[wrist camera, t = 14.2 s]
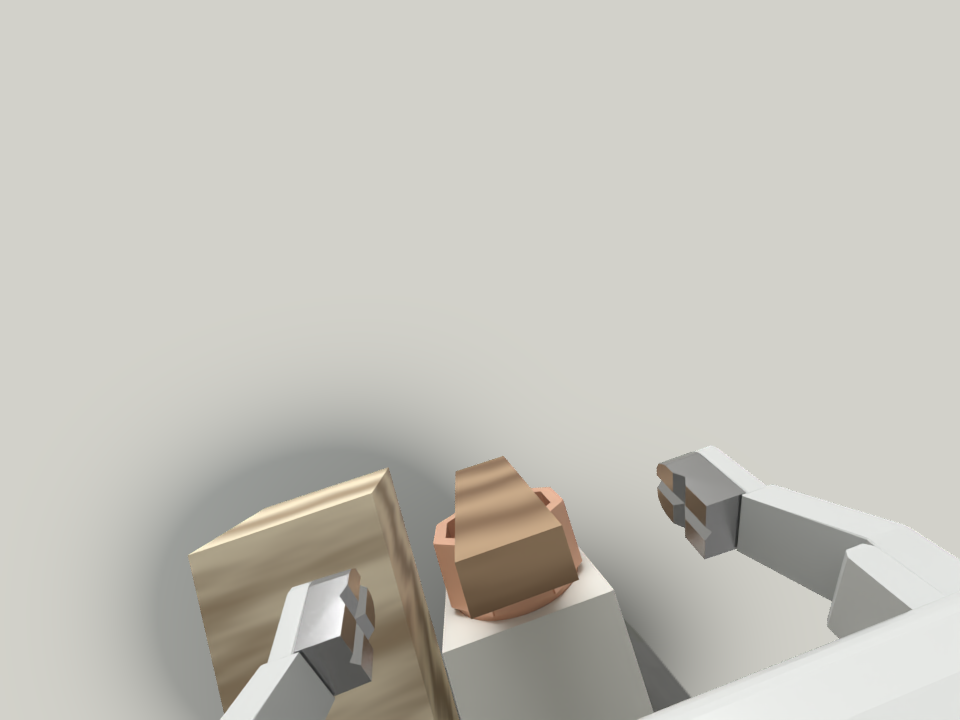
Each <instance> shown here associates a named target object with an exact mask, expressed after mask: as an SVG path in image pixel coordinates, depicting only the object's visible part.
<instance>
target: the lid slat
mask: <svg viewBox="0 0 960 720" xmlns="http://www.w3.org/2000/svg"><path fill="white" fill-rule="evenodd" d="M455 487H456V488H455V566H456V569H457V573H458V576H459V579H460V583H461V586H462V590H463V593H464V597H465V600H466V604H467V607H468V611H469V614H470V618H471V619H473V618H476V617H479V616H482V615H484V614H487V613H490V612H493V611H495V610H498V609H501V608H504V607H506V606H509V605H512V604H514V603H517V602H520V601H523V600H525V599H528V598H531V597H534V596H536V595H539V594H542V593H545V592H547V591H550V590H553V589H556V588H558V587H561V586H564V585H566V584H569V583H572V582H575V581H577V580H579V578H578V574H577V571H576V568H575V565H574V562H573V559H572V555H571V552H570V549H569V546H568V543H567V539H566V536H565V533H564V530H563V527H562V525H561V523H560V522H559V521H558V520H557V519H556V517H555V516H554V515H553V514H552V513H551V512H550V510H549V509H548V508H547V507H546V506H545V504H544V503H543V502H542V501H541V500H540V499H539V497H538V496H537V495H536V494H535V493H534V492H533V490H532V489H531V488H530V487H529V486H528V484H527V483H526V482H525V481H524V480H523V479H522V477H521V476H520V475H519V474H518V473H517V471H516V470H515V469H514V468H513V467H512V466H511V464H510V463H509V462H508V461H507V460H506V458H505V457H504V456H502V457H499V458H496V459H492V460H489V461H487V462H484V463H481V464H477V465H474V466H471V467H468V468H465V469H462V470H459V471H456V482H455Z"/></svg>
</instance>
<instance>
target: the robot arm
mask: <svg viewBox="0 0 960 720" xmlns="http://www.w3.org/2000/svg"><path fill="white" fill-rule="evenodd" d="M657 476H658V477H659V478H660V479H661V480H662V481H661V483H660V485H659V486H658V488H657V489H658V497H659V500H660V503H661V506H662V508H663V509H664V511H665V513H666V514H667V516H668V517H669V518H670V519H671V521H672V522H673V523H675V524H677V525H679V526H682V527H684V528H685V536H686V538H687V539H688V541H690V543H691V544H692V545H693V546H694V547H695V549H696V550H697V551H698V552H699V553H700V555H701V556H702V557H703V558H704V559H707V558H710V557H713V556H716V555H719V554H722V553H725V552H728V551H731V550H733V549H737V551H739V552H741V553H742V554H744V555H746V556H748V557H750V558H752V559H754V560H756V561H757V562H759V563H761V564H763V565H765V566H767V567H769V568H771V569H773V570H774V571H776V572H778V573H780V574H782V575H784V576H786V577H787V578H789V579H791V580H793V581H795V582H797V583H799V584H801V585H802V586H804V587H806V588H808V589H810V590H812V591H814V592H816V593H817V594H819V595H821V596H823V597H825V598H827V599H829V600H831V601H832V603H831V607H830V611H829V615H828V618H827V626H828V628H829V629H830V630H831V631H832V632H833V633H834V634H835V635H836V636H837V637H838V638H839V639H838V640H835V641H833V642H831V643H828V644H825V645H823V646H820V647H818V648H816V649H813V650H810V651H808V652H805V653H803V654H800V655H798V656H795V657H793V658H790V659H788V660H785V661H783V662H780V663H778V664H775V665H773V666H770V667H768V668H765V669H763V670H760V671H758V672H755V673H753V674H750V675H748V676H745V677H743V678H740V679H737V680H735V681H732V682H730V683H727V684H725V685H722V686H720V687H718V688H715V689H712V690H710V691H707V692H705V693H702V694H700V695H697V696H695V697H692V698H690V699H687V700H685V701H682V702H680V703H677V704H675V705H672V706H670V707H667V708H665V709H662V710H660V711H657V712H655V713H652V714H650V715H647V716H645V717H642V718H640V719H637V720H960V559H958V558H957V557H955V556H954V555H952V554H951V553H949V552H947V551H946V550H944V549H943V548H941V547H940V546H938V545H937V544H935V543H933V542H932V541H930V540H929V539H927V538H926V537H924V536H922V535H921V534H919V533H918V532H916V531H915V530H913V529H912V528H910V527H908V526H907V525H904V524H901V523H897V522H894V521H891V520H888V519H884V518H881V517H878V516H875V515H871V514H868V513H865V512H862V511H858V510H855V509H852V508H849V507H845V506H842V505H839V504H836V503H832V502H829V501H826V500H822V499H819V498H816V497H813V496H810V495H806V494H803V493H800V492H797V491H793V490H789V489H786V488H783V487H780V486H777V485H774V484H772V485H768V486H767V485H765V484H764V483H763V482H761V481H760V480H759V479H757V478H756V477H755V476H754V475H752V474H751V473H750V472H748V471H747V470H746V469H744V468H743V467H742V466H741V465H739V464H738V463H736V462H735V461H734V460H733V459H731V458H730V457H729V456H728V455H726V454H725V453H724V452H722V451H721V450H720V449H718V448H717V447H715V446H708V447H705V448H702V449H699V450H697V451H694V452H690V453H687V454H684V455H682V456H679V457H676V458H673V459H670V460H668V461H665V462H662V463H659V464H658V466H657ZM360 580H361V576H360V574H359V573H358V571H357V570H356V568H352V569H349V570H345V571H342V572H339V573H336V574H332V575H329V576H326V577H323V578H320V579H316V580H313V581H311V582H308V583H305V584H301V585H298V586H295V587H292V588H291V590H290V591H289V593H288V594H287V596H286V600H285V603H284V607H283V610H282V614H281V617H280V621H279V624H278V628H277V631H276V635H275V638H274V642H273V645H272V648H271V652H270V655H269V659H268V662H267V663H266V664H263V665H261V666H260V667H259V668H258V670H257V671H256V672H255V674H254V675H253V676H252V678H251V679H250V680H249V682H248V683H247V684H246V686H245V687H244V688H243V690H242V691H241V692H240V694H239V695H238V696H237V698H236V699H235V700H234V702H233V703H232V704H231V706H230V707H229V708H228V710H227V711H226V713H225V714H224V715H223V717H222V718H221V719H220V720H325V719H326V717H327V715H328V713H329V711H330V709H331V707H332V704H333V702H334V700H335V697H334V696H336V695H339V694H341V693H344V692H346V691H349V690H351V689H354V688H356V687H359V686H361V685H364V684H366V683H369V682H371V681H372V667H373V651H374V649H373V647H372V646H371V644H370V642H369V641H368V640H369V638H370V636H371V635H372V633H373V631H374V629H375V610H374V602H373V599H372V596H371V594H370V592H369V590H368V588H367V587H364V586H361V585H360Z"/></svg>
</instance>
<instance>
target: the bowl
mask: <svg viewBox="0 0 960 720" xmlns="http://www.w3.org/2000/svg"><path fill="white" fill-rule="evenodd" d="M531 489H532V490H533V492H534V493H535V494H536V495H537V496H538V497H539V499H540V500H541V501H542V502H543V503H544V504H545V506H546V507H547V508H548V509H549V510H550V512H551V513H552V514H553V515H554V516H555V517H556V519H557V520H558V521H559V522H560V523H561V525H562V527H563V530H564V533H565V536H566V539H567V543H568V546H569V549H570V552H571V555H572V559H573V562H574V565H575V568H576V571H577V572H578V566H579V565H580V564H581V562H582V558H581V555H580V552H579V548H578V545H577V542H576V539H575V536H574V533H573V530H572V527H571V524H570V520H569V517H568V514H567V511H566V507H565V504H564V501H563V499H562V498H561V497H560V496H559V495H558V494H557V493H556V492H555V491H554V490H552V489H551V488H550V487H543V488H531ZM433 544H434V548H435V551H436V555H437V558H438V562H439V565H440V569H441V572H442V576H443V579H444V583H445V586H446V590H447V593H448V597H449V600H450V604H451V607H452V608H455V609H459V611H460V612H461V613H462V614H464V615H465V616H467V617H469V618H470V614H469V611H468V607H467V604H466V600H465V597H464V593H463V590H462V586H461V583H460V579H459V576H458V573H457V569H456V566H455V514H453V515H452V516H450V517H449V518H447V519H445V520H444V521H442V522H441V523H439V524H438V525H437V526H436V532H435V537H434V543H433ZM572 583H573V582H572ZM572 583H569V584H566V585H564V586H561V587H558V588H556V589H553V590H550V591H547V592H545V593H542V594H539V595H536V596H534V597H531V598H528V599H525V600H523V601H520V602H517V603H514V604H512V605H509V606H506V607H504V608H501V609H498V610H495V611H493V612H490V613H487V614H484V615H482V616H479V617H476V618H473V619H476V620H482V621H498V620H506V619H511V618H515V617H519V616H522V615H525V614H528V613H531V612H533V611H536V610H538V609H540V608H542V607H544V606H546V605H547V604H549V603H551V602H552V601H554V600H555V599H556V598H558V597H559V596H560V595H562V594H563V593H564V592H565V591H566V590H567V589H568V588H569V586H570V585H571V584H572Z"/></svg>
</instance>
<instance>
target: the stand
mask: <svg viewBox="0 0 960 720" xmlns="http://www.w3.org/2000/svg"><path fill="white" fill-rule="evenodd" d="M188 558H189V562H190V567H191V571H192V575H193V580H194V584H195V588H196V593H197V597H198V601H199V605H200V610H201V614H202V618H203V623H204V628H205V632H206V636H207V641H208V645H209V649H210V654H211V658H212V663H213V667H214V671H215V676H216V680H217V684H218V689H219V693H220V697H221V702H222V706H223V711H224V714H225V713H226V711H227V710H228V708H229V707H230V706H231V704H232V703H233V702H234V700H235V699H236V698H237V696H238V695H239V694H240V692H241V691H242V690H243V688H244V687H245V686H246V684H247V683H248V682H249V680H250V679H251V678H252V676H253V675H254V674H255V672H256V671H257V670H258V668H259V667H260V666H261V665H263V664H266V663H267V662H268V659H269V655H270V652H271V648H272V645H273V642H274V638H275V635H276V631H277V628H278V624H279V621H280V617H281V614H282V610H283V607H284V603H285V600H286V596H287V594H288V593H289V591H290V590H291V588H292V587H295V586H298V585H301V584H305V583H308V582H311V581H313V580H316V579H320V578H323V577H326V576H329V575H332V574H336V573H339V572H342V571H345V570H349V569H352V568H356V570H357V571H358V573H359V574H360V576H361V580H360V585H361V586H364V587H367V588H368V590H369V592H370V594H371V596H372V599H373V602H374V610H375V629H374V631H373V633H372V635H371V636H370V638H369V640H368V641H369V642H370V644H371V646H372V647H373V649H374V651H373V667H372V681H371V682H369V683H366V684H364V685H361V686H359V687H356V688H354V689H351V690H349V691H346V692H344V693H341V694H339V695H336V696H334V697H335V700H334V702H333V704H332V707H331V709H330V711H329V713H328V715H327V717H326V719H325V720H459V717H458V714H457V710H456V706H455V703H454V699H453V696H452V692H451V689H450V685H449V681H448V678H447V674H446V671H445V667H444V664H443V660H442V656H441V653H440V649H439V646H438V642H437V639H436V635H435V632H434V628H433V625H432V621H431V617H430V614H429V610H428V607H427V603H426V599H425V596H424V592H423V589H422V585H421V581H420V578H419V574H418V571H417V567H416V564H415V560H414V556H413V553H412V549H411V546H410V542H409V539H408V535H407V531H406V528H405V524H404V521H403V517H402V514H401V510H400V506H399V503H398V499H397V496H396V492H395V489H394V485H393V481H392V478H391V474H390V471H389V468H386V469H383V470H379V471H376V472H373V473H370V474H367V475H364V476H361V477H358V478H355V479H352V480H349V481H346V482H343V483H340V484H337V485H334V486H331V487H328V488H325V489H322V490H319V491H316V492H312V493H310V494H306V495H303V496H300V497H298V498H294V499H291V500H288V501H286V502H282V503H279V504H277V505H273V506H270V507H267V508H265V509H263V510H261V511H260V512H258V513H257V514H255V515H253V516H252V517H250V518H248V519H247V520H245V521H244V522H242V523H240V524H239V525H237V526H235V527H234V528H232V529H230V530H229V531H227V532H225V533H224V534H222V535H220V536H219V537H217V538H216V539H214V540H212V541H211V542H209V543H207V544H206V545H204V546H202V547H201V548H199V549H198V550H196V551H194V552H193V553H191V554H189V555H188Z"/></svg>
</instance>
